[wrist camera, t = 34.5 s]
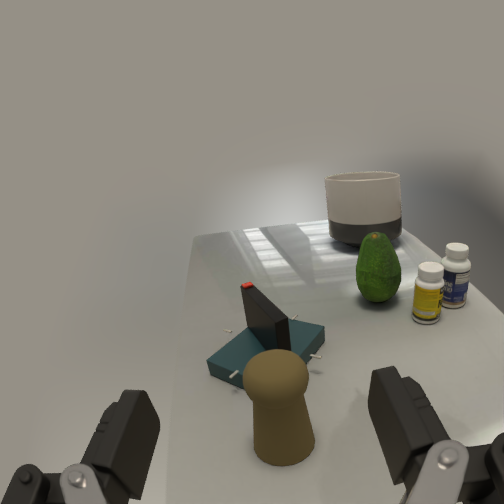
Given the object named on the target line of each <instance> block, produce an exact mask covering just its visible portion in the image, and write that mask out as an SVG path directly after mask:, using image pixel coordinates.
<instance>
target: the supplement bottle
mask: <svg viewBox="0 0 504 504" xmlns="http://www.w3.org/2000/svg"><path fill="white" fill-rule="evenodd" d="M443 275H444V267H443V265H441V264H439V263H436V262H423V263H421V264H420V265H419V267H418V277H417V278H416V280H415V289H414V300H413V309H412V317H413V319H414V320H415V321H417V322H419V323H422V324H432V323H435V322H437V321H438V320H439V318H440V312H441V306H442V299H443V292H444V279H443Z"/></svg>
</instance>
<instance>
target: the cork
mask: <svg viewBox="0 0 504 504" xmlns="http://www.w3.org/2000/svg"><path fill="white" fill-rule="evenodd" d="M308 381H309V373H308V370H307V366H306V364H305V362H304V361H303V360H302V359H301V358H300V357H299V356H298V355H297V354H295V353H293V352H292V351H288V350H282V349H274V350H267V351H264V352H261V353H259V354H257V355H256V356H254V357H253V358H252V359H251V360H250V361H249V362H248V363H247V365H246V367H245V369H244V371H243V386H244V389H245V391H246V393H247V395H248V396H249V398H250V399H251V400H252V401H253V425H254V450H255V452H256V454H257V456H258V457H259V458H260V459H261V460H263V461H264V462H266V463H268V464H271V465H275V466H288V465H293V464H296V463H298V462H301V461H302V460H304V459H305V458H306V457H307V456H309V455H310V453H311V451H312V450H313V448H314V444H315V438H314V434H313V430H312V426H311V422H310V418H309V414H308V410H307V406H306V402H305V398H304V393H305V391H306V389H307V386H308Z"/></svg>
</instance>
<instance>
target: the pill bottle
mask: <svg viewBox="0 0 504 504" xmlns="http://www.w3.org/2000/svg"><path fill="white" fill-rule="evenodd" d="M468 251H469V248H468V246H467V245H465V244H461V243H449V244H447V246H446V255H447V256H445V257H444V258H443V259H442V261H441V265H443V267H444V275H443V279H444V292H443V299H442V305H443V306H445V307H448V308H458V307H461V306H463V305H464V304H465V301H466V295H467V290H468V283H469V276H470V269H471V263H470V261H469V260H468V259H467V257H468Z"/></svg>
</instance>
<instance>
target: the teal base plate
mask: <svg viewBox="0 0 504 504" xmlns="http://www.w3.org/2000/svg"><path fill="white" fill-rule="evenodd" d="M297 316H298V315H295V316H294V317H293V318H292V319H288V321H289V331H290V341H291V351H292V352H293V353H295V354H297V355H298V356H299V357H300V358H301V359H302V360H303V361H304V362H305V364H306V363H307V362H308V361H309V360H310V359H311V357H314V358H318V359H321V358H322V356H318V355H314V354H315V352H316V351H317V350H318V349H319V347H320V346H321V345H322V343H323V342H324V341H325V332H324V326H321V325H316V324H311V323H307V322H302V321H297V320H294V319H295V318H296V317H297ZM223 331H226V332H229V333H231V332H232V331H230V330H227V329H224V330H223ZM264 351H266V349H265V348H264V347H263V345H262V344H261V343H260V342H259V340H258V339H257V338H256V336H255V335H254V334H253V333H252V331H251V330H250V329H249V327H247V328H246V329H245V330H244V331H242V332H241V333H240V334H239V335H237V336H236V337H235V338H234V339H232V340H231V341H230V342H229V343H227V344H226V345H225V346H224V347H222V348H221V349H220V350H219V351H217V352H216V353H215V354H214V355H212V356H211V357H210V358H208V359H207V360H206V361H207V364H208V368H209V371H210V374H211V375H213V376H215V377H217V378H220V379H222V380H224V381H226V382H229V383H231V384H233V385H236V386H238V387H240V388H243V389H244V386H243V371H244V369H245V367H246V365H247V363H248V362H249V361H250V360H251V359H252V358H253V357H254V356H256V355H257V354H259V353H261V352H264Z"/></svg>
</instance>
